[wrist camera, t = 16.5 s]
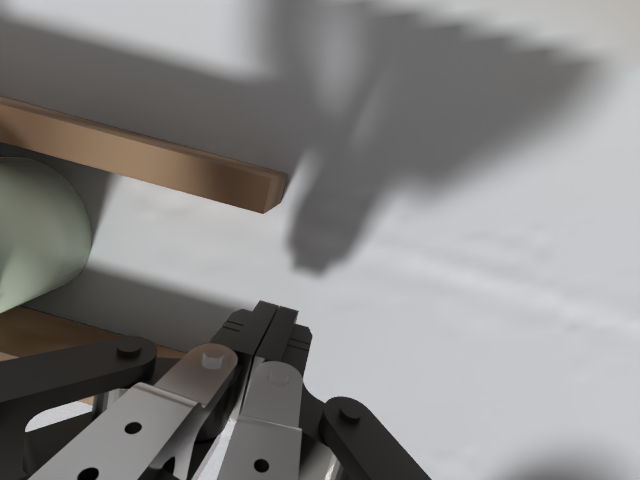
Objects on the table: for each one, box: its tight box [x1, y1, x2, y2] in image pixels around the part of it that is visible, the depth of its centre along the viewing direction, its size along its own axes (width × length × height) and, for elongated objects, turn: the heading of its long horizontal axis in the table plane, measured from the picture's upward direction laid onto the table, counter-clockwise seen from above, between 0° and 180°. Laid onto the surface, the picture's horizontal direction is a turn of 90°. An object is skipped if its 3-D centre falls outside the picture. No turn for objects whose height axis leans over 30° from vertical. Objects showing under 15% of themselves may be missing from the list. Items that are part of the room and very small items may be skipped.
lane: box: [0, 96, 287, 405], centre depth 13 cm, size 18×11×6 cm, turn 75°
